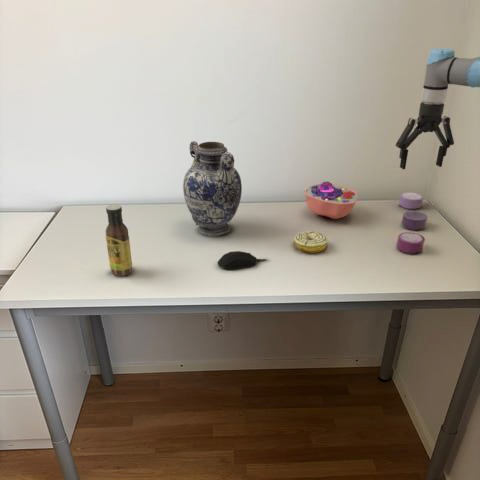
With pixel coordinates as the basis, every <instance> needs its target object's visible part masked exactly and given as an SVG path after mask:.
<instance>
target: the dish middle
mask: <svg viewBox="0 0 480 480" xmlns="http://www.w3.org/2000/svg"><path fill="white" fill-rule="evenodd" d="M428 217H429V216H428V215H427V214H426V213H425V212H421V211H417V210H407V211H404V212H402V217H401V222H400V224H401V225H402V226H403V227H404V228H405V229H408V230H411V231H419V230H422V229H425V228H426V226H427V224H428V223H427V222H428V219H429V218H428Z"/></svg>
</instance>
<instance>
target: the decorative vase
mask: <svg viewBox="0 0 480 480" xmlns="http://www.w3.org/2000/svg"><path fill="white" fill-rule="evenodd" d="M188 148H189V154H190V156H191V158H193V160H192V163H191V166H190V168H189V169H188V170H187V171H186V172H185V175H184V178H183V182H182V183H183V184H182V190H183V197H184V202H185V205H186V207H187V209H188V211H189V213H190V214H191V215H190V216H191V218H192V220H193V222H194V224H195V226H198V232H199V234H201V235H203V236H207V237H221V236H224V235H227V234H228V233H230V231H231V225H230V224H229V222H231V220H233V218H234V217H235V215H236V213H237V211H238V210H239V209H238V208H239V206H240V203H241V199H242V191H243V189H242V187H243V186H242V177H241V175H240V173H239V172H238V170H237V169H236V168H235V157H234V155H233V154H232V153H231V152H229V151H228V148H227V147H226V146H225V144H224V143H222V142H219V141H205V142H201V143H198V142H197V141H195V140H192V141H190V143H189V147H188Z"/></svg>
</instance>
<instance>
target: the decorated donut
mask: <svg viewBox="0 0 480 480" xmlns="http://www.w3.org/2000/svg"><path fill="white" fill-rule="evenodd" d="M293 244H294V246H295V248H296V249H297V250H299V251H300V252H303V253H305V254H307V253H308V254H316V253H317V254H318V253H320V252H322V251H324V250H326V248H327V246H328V244H329V238H328V237H327V236H326V235H325V234H323V233H320V232H317V231H299V232H298V233H296V234H295V236H294V237H293Z"/></svg>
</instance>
